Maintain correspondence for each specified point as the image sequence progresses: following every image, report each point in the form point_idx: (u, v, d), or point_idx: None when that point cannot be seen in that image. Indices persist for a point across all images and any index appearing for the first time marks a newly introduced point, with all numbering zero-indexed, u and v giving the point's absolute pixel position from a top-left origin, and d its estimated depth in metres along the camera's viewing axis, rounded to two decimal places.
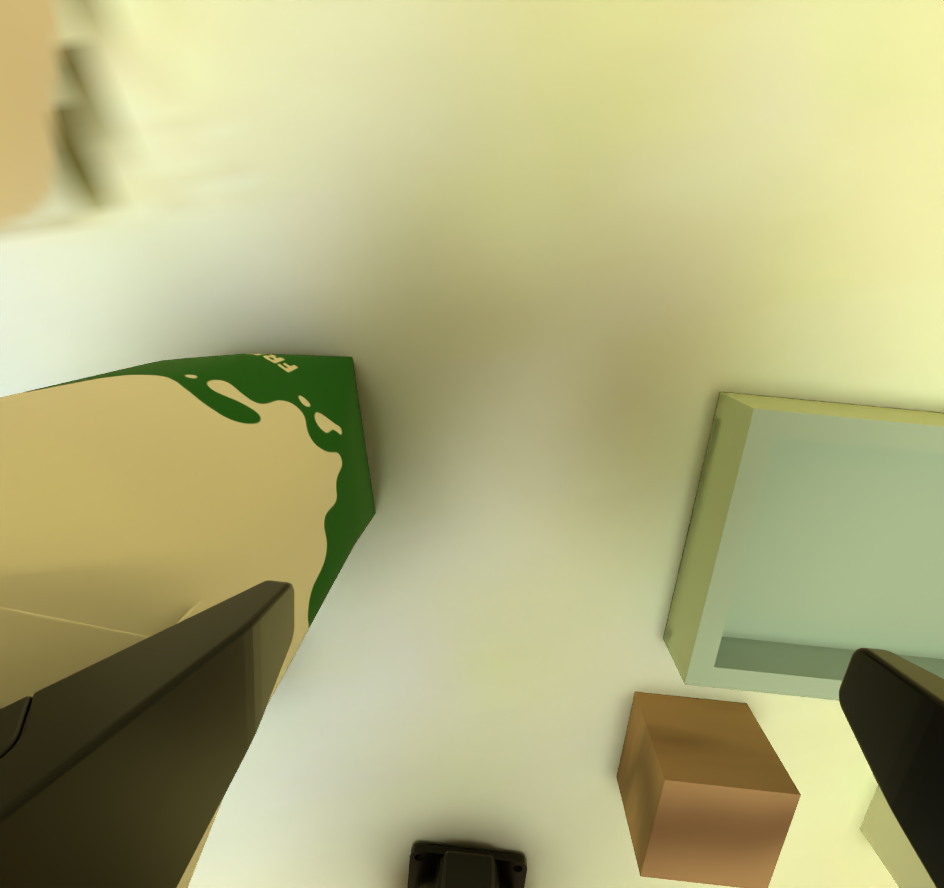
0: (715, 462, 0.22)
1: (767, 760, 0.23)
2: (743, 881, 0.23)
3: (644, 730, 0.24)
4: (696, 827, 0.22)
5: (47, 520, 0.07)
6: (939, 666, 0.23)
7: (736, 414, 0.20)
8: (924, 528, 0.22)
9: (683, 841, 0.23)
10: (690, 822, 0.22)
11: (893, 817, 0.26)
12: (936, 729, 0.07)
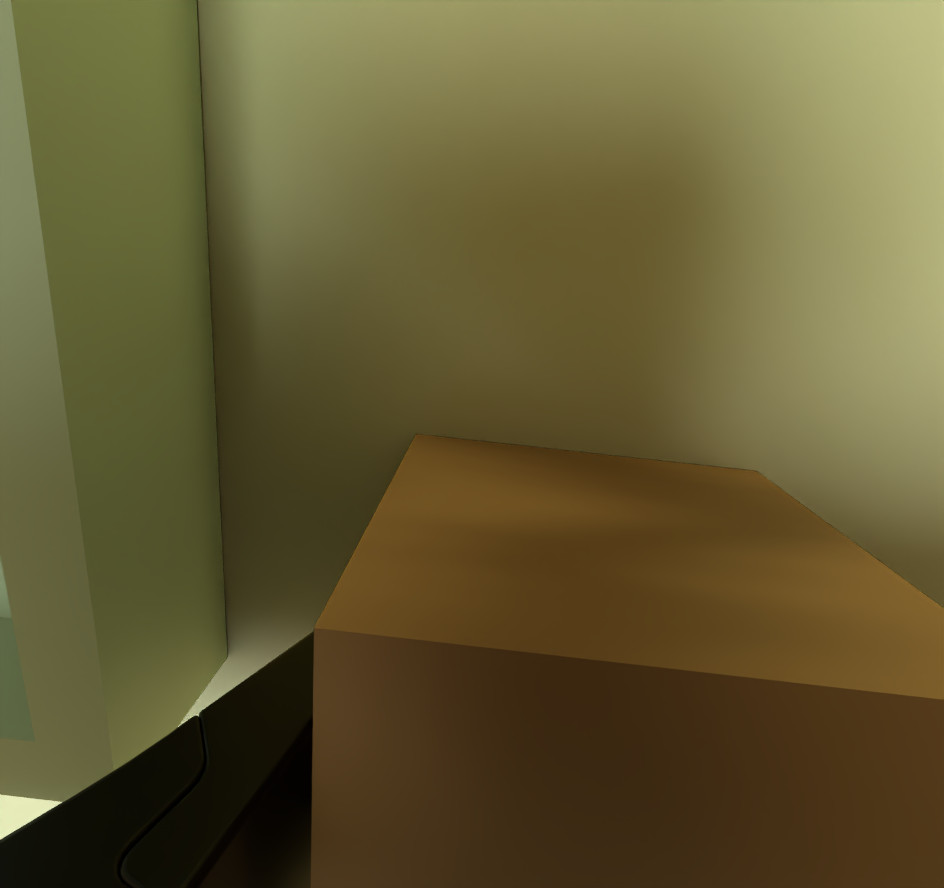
0: None
1: None
2: None
3: None
4: None
5: None
6: None
7: None
8: None
9: None
10: None
11: None
12: None
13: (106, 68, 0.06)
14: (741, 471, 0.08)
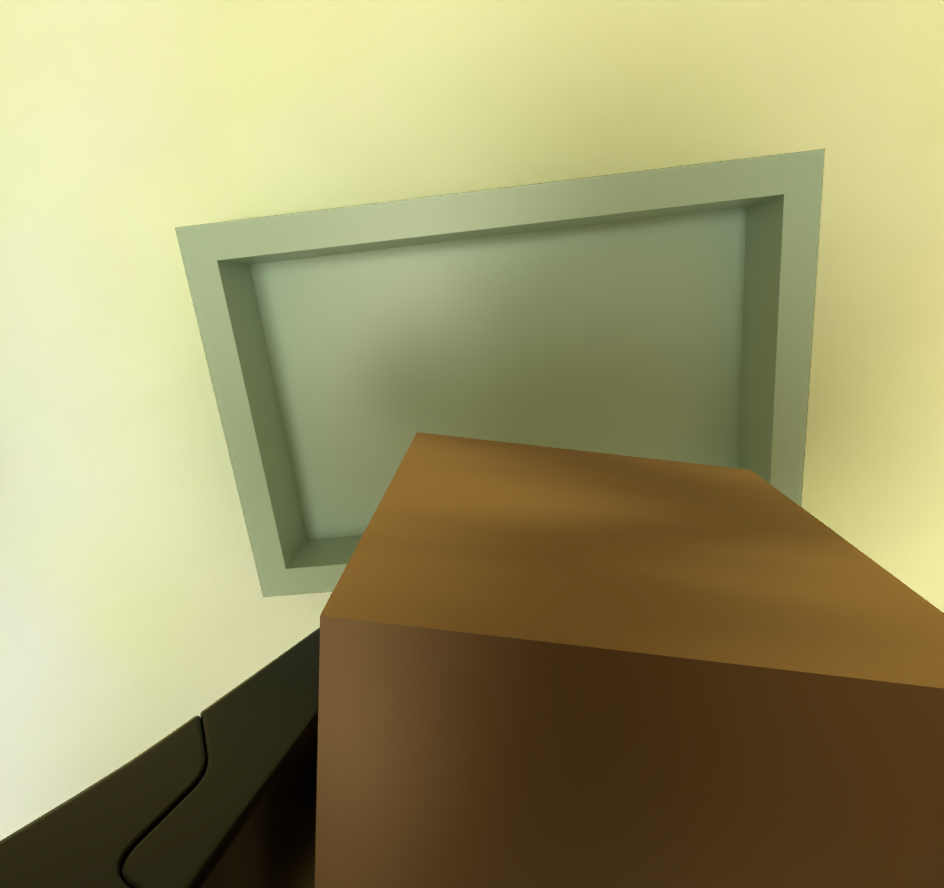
0: None
1: None
2: None
3: None
4: None
5: None
6: None
7: None
8: (510, 353, 0.18)
9: None
10: None
11: None
12: None
13: None
14: (736, 470, 0.09)
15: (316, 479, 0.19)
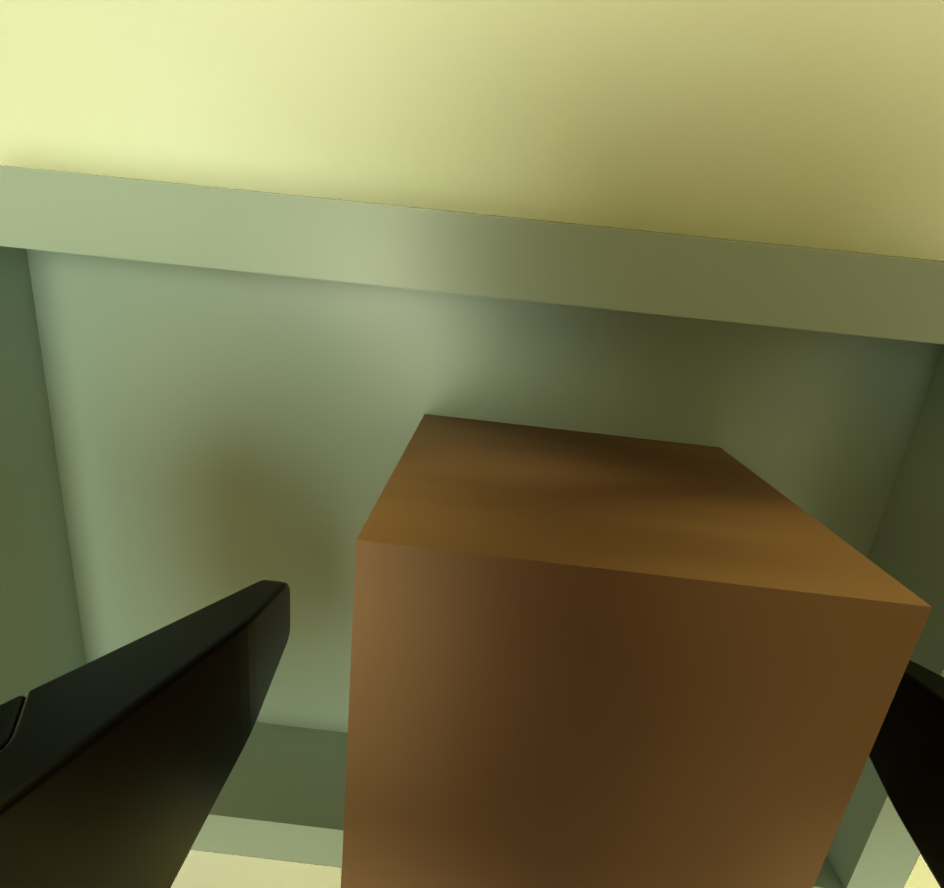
0: None
1: None
2: (853, 695, 0.05)
3: None
4: (544, 848, 0.06)
5: None
6: None
7: None
8: None
9: (610, 881, 0.06)
10: (519, 865, 0.06)
11: None
12: (941, 729, 0.07)
13: None
14: (706, 447, 0.10)
15: (116, 619, 0.12)
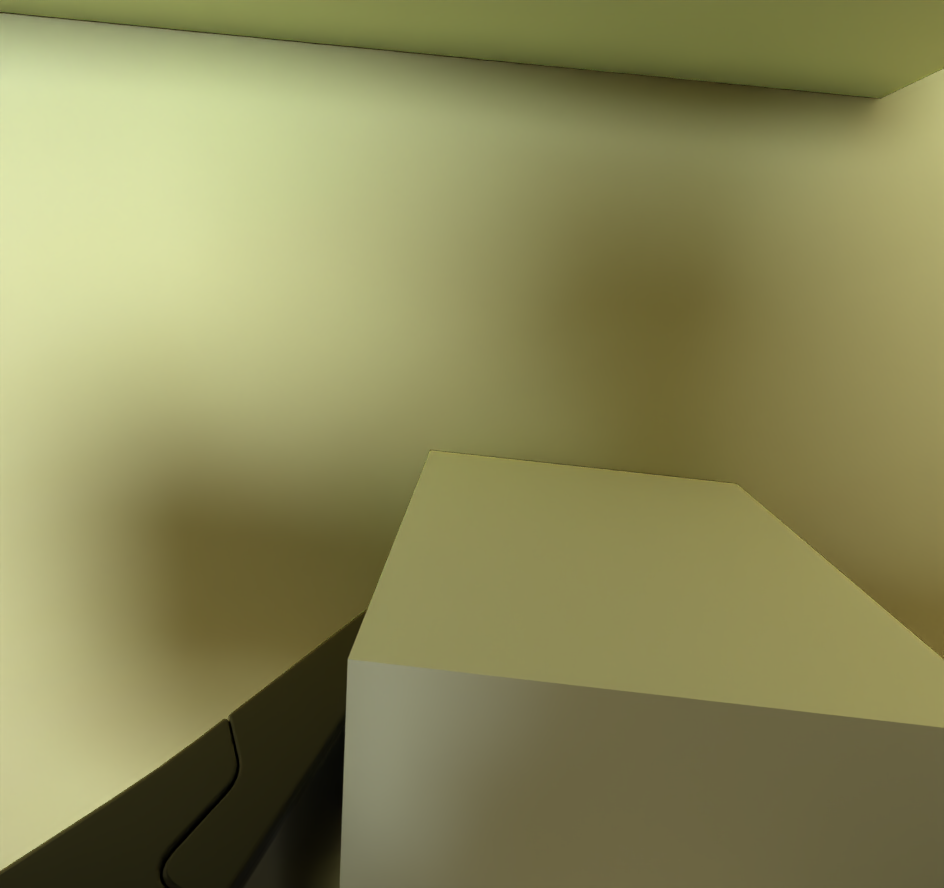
0: None
1: None
2: None
3: None
4: None
5: None
6: None
7: None
8: None
9: None
10: None
11: None
12: None
13: None
14: None
15: None
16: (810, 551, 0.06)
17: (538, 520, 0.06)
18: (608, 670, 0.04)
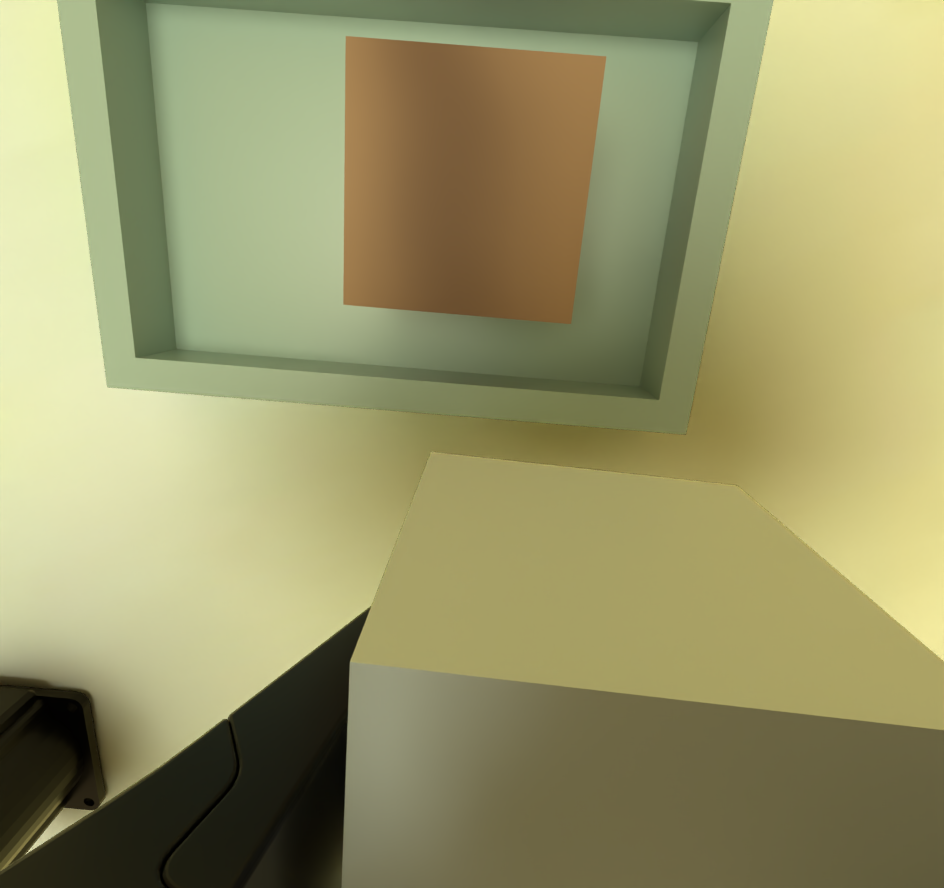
0: None
1: None
2: (580, 114, 0.11)
3: None
4: (445, 233, 0.12)
5: None
6: (482, 376, 0.18)
7: None
8: None
9: (480, 254, 0.12)
10: (433, 246, 0.12)
11: None
12: None
13: None
14: None
15: (194, 278, 0.18)
16: (810, 552, 0.06)
17: (538, 522, 0.07)
18: (609, 672, 0.04)
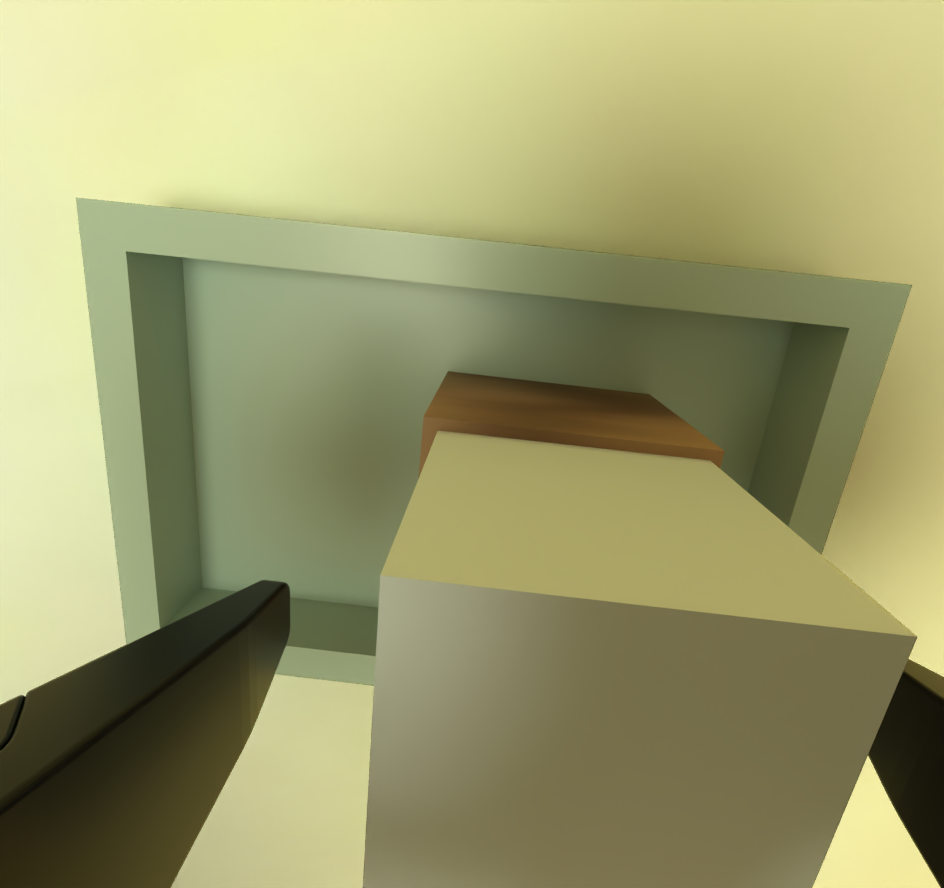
0: None
1: None
2: None
3: None
4: None
5: None
6: None
7: None
8: None
9: None
10: None
11: None
12: (941, 730, 0.07)
13: None
14: (639, 394, 0.14)
15: (224, 522, 0.16)
16: (765, 511, 0.08)
17: (531, 485, 0.08)
18: (584, 587, 0.05)
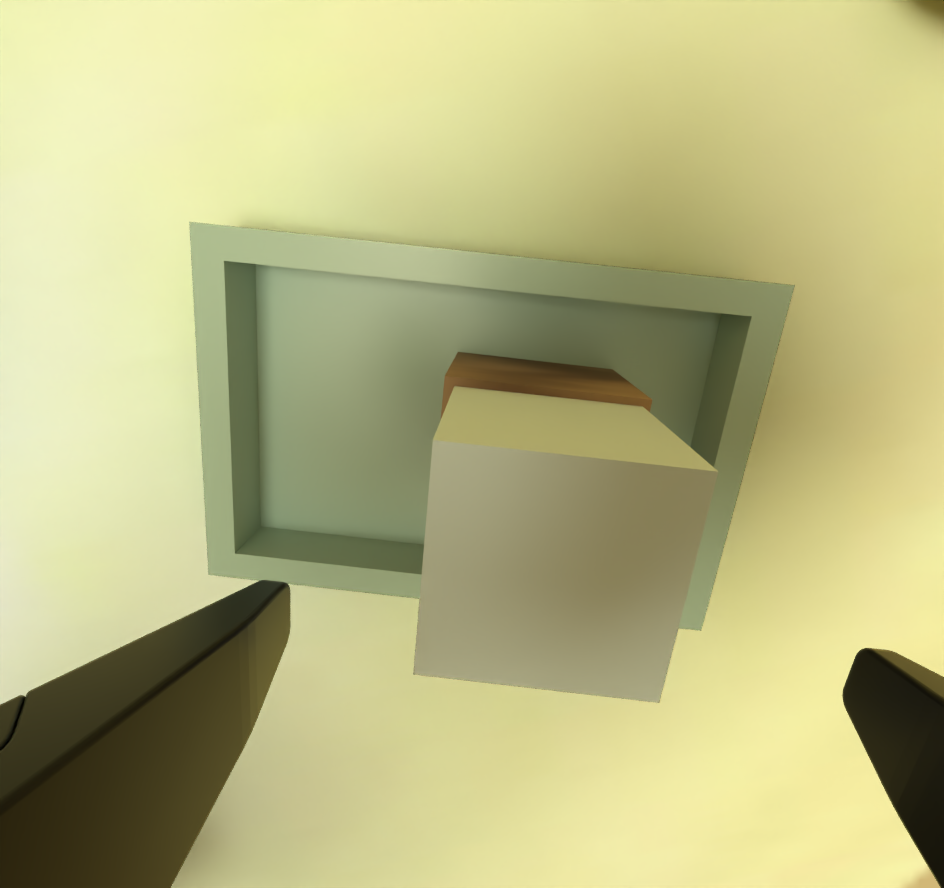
0: None
1: None
2: None
3: None
4: None
5: None
6: None
7: None
8: None
9: None
10: None
11: None
12: (941, 729, 0.07)
13: None
14: (604, 368, 0.19)
15: (280, 472, 0.20)
16: (665, 428, 0.12)
17: (517, 412, 0.12)
18: (543, 449, 0.09)
